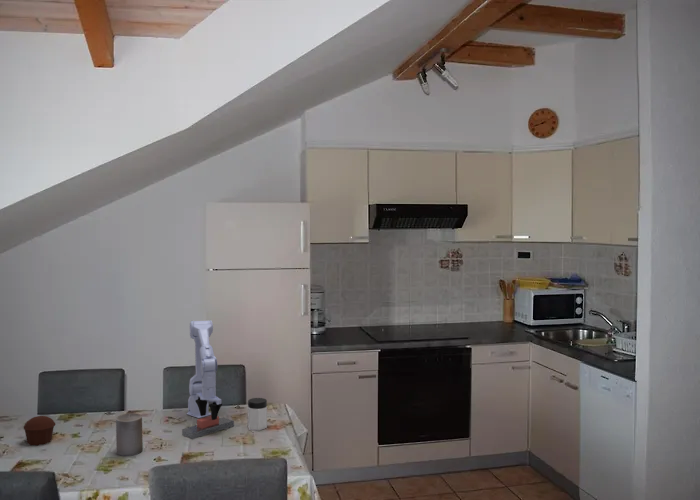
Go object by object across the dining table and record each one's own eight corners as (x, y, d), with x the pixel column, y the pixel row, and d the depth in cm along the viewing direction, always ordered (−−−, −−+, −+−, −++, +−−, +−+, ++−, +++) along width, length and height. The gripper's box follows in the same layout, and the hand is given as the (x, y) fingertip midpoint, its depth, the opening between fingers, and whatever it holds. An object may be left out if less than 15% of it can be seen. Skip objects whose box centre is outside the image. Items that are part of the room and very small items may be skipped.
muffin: (20, 447, 255) (20, 422, 255) (26, 438, 266) (26, 414, 265) (53, 445, 258) (53, 420, 258) (58, 435, 269) (57, 412, 268)
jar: (246, 424, 287) (246, 398, 287) (264, 423, 290) (265, 396, 289) (249, 431, 279) (249, 403, 278) (268, 429, 281) (268, 402, 280)
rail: (182, 435, 273) (182, 429, 272) (223, 422, 289) (223, 417, 289) (192, 439, 268) (192, 433, 268) (233, 426, 285) (233, 420, 285)
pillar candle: (133, 445, 260) (133, 408, 259) (147, 451, 254) (147, 413, 253) (111, 452, 252) (110, 414, 251) (125, 458, 246) (124, 419, 245)
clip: (196, 431, 276) (196, 419, 276) (213, 426, 283) (213, 414, 283) (202, 433, 274) (202, 421, 274) (218, 427, 281) (219, 416, 281)
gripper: (190, 384, 279) (190, 415, 280) (212, 391, 270) (211, 423, 271) (204, 381, 285) (203, 412, 286) (225, 388, 275) (225, 419, 276)
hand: (208, 417), depth 279 cm, fingers open, 7 cm apart
